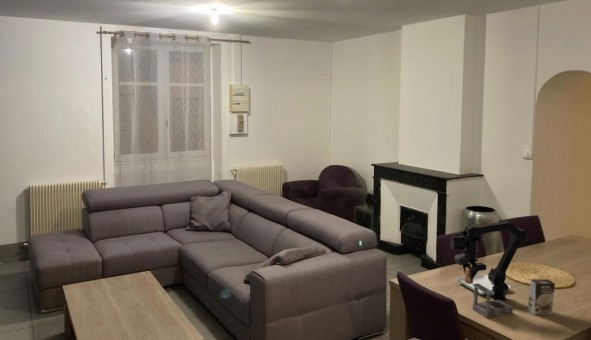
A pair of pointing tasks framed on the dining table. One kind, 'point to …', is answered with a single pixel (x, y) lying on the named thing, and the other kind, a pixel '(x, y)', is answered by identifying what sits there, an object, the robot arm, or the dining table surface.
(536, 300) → the coffee box
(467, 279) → the peg
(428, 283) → the dining table surface
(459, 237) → the robot arm
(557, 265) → the dining table surface
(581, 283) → the dining table surface
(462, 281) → the salad plate
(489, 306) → the socket block
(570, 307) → the dining table surface
